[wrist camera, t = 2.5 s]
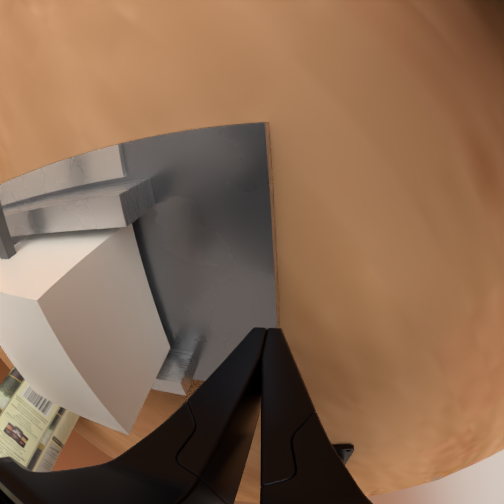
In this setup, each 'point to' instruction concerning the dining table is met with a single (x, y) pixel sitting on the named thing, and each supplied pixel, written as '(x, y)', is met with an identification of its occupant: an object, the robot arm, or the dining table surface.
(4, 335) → the white cube with rod
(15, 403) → the coffee can
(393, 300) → the dining table surface
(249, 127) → the gauge track
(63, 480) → the robot arm
